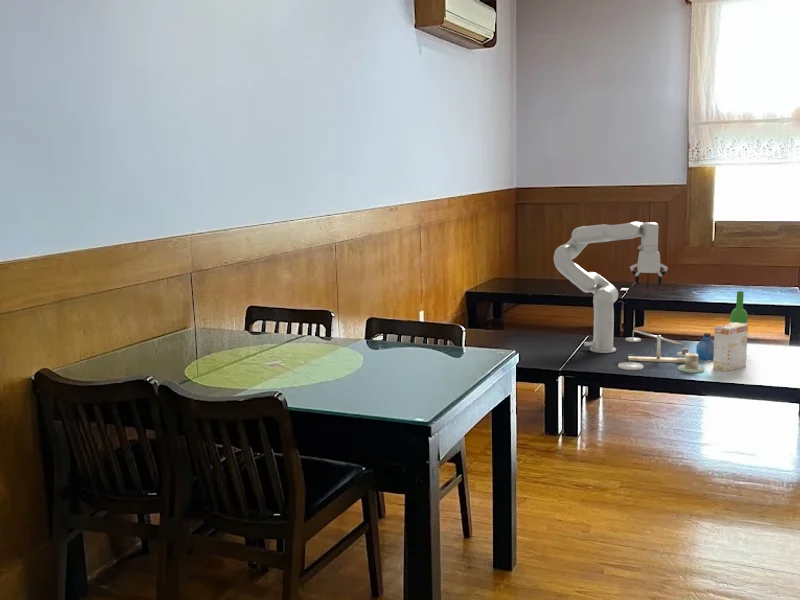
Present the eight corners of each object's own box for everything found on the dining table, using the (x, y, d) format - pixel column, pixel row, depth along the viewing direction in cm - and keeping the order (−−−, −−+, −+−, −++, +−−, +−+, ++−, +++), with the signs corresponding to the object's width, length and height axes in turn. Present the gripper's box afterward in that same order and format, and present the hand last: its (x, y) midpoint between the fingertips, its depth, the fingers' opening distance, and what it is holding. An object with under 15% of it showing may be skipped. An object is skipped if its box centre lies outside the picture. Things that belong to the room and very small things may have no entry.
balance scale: (625, 361, 375) (625, 330, 372) (624, 357, 381) (625, 327, 379) (693, 363, 368) (694, 332, 365) (691, 360, 374) (692, 329, 372)
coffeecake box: (732, 363, 367) (734, 322, 363) (746, 366, 361) (749, 324, 358) (711, 368, 359) (714, 325, 356) (725, 371, 353) (728, 328, 350)
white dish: (618, 369, 359) (618, 367, 359) (617, 363, 370) (617, 361, 370) (643, 370, 357) (644, 368, 356) (642, 364, 367) (642, 362, 367)
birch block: (685, 368, 355) (686, 355, 354) (684, 366, 360) (685, 353, 359) (697, 369, 354) (698, 356, 353) (696, 366, 359) (697, 353, 358)
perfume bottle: (705, 356, 381) (706, 332, 379) (715, 359, 375) (717, 334, 374) (696, 358, 378) (697, 333, 376) (706, 360, 373) (707, 335, 371)
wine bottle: (742, 351, 391) (746, 290, 386) (748, 354, 383) (751, 292, 378) (726, 351, 392) (729, 290, 387) (731, 354, 384) (734, 292, 379)
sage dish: (679, 372, 353) (679, 370, 353) (677, 366, 364) (677, 364, 363) (705, 373, 350) (705, 371, 350) (702, 367, 361) (702, 365, 361)
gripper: (630, 249, 377) (629, 285, 380) (669, 249, 373) (667, 285, 376) (630, 247, 384) (629, 283, 387) (667, 248, 380) (666, 283, 383)
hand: (648, 284), depth 382 cm, fingers open, 9 cm apart
